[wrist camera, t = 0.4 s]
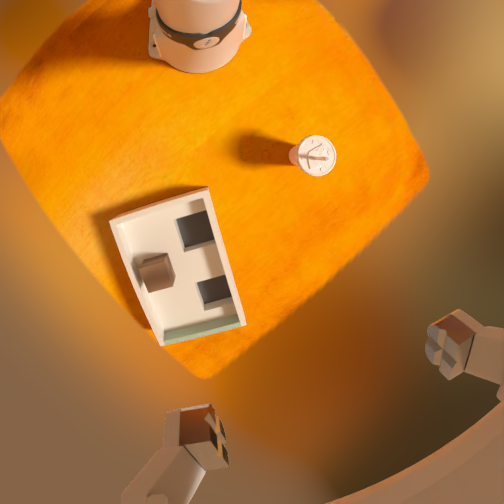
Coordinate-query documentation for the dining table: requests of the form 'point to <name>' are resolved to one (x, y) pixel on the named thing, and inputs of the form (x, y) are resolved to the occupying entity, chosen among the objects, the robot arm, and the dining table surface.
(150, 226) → the box
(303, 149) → the smoothie
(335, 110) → the dining table surface
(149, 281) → the walnut block
